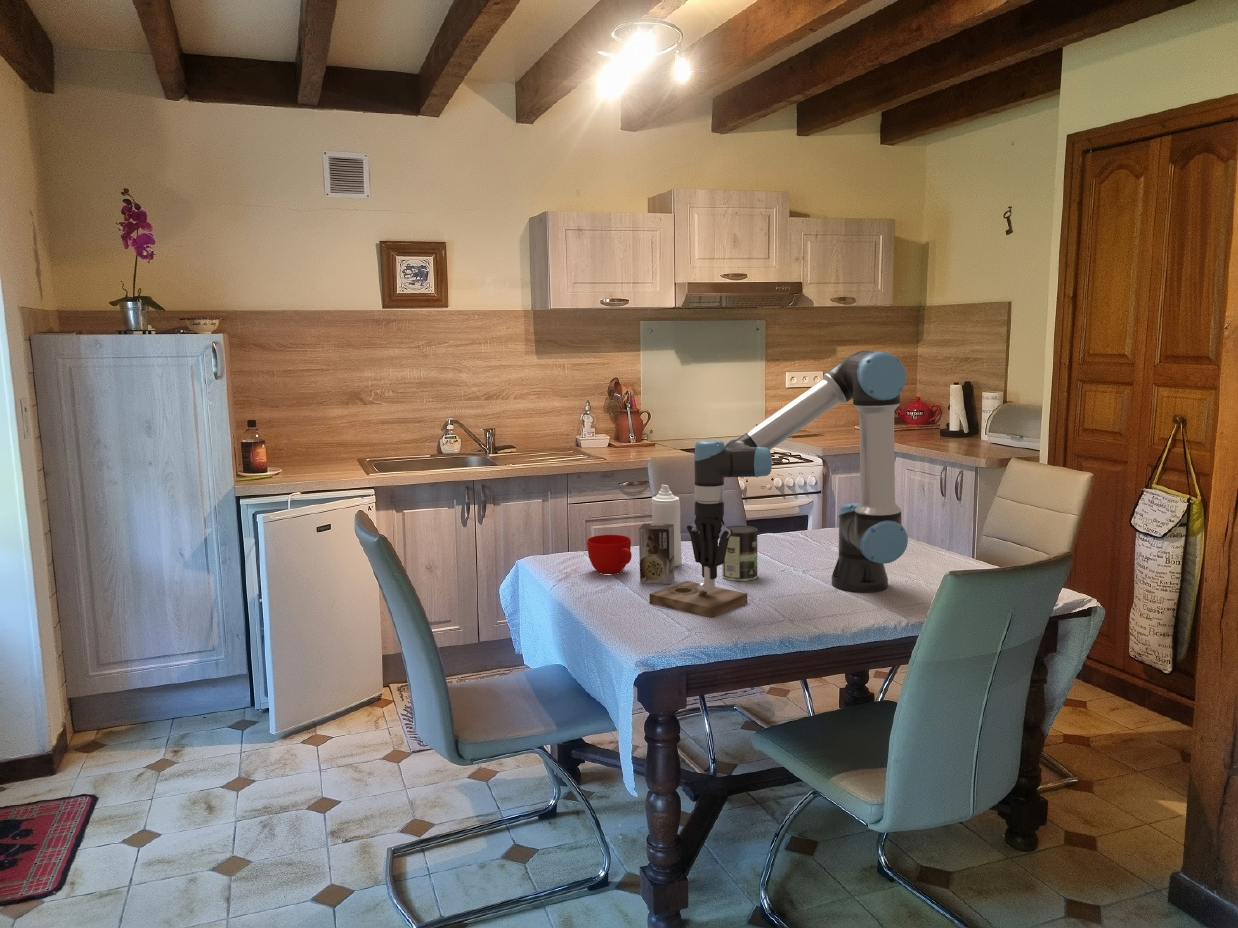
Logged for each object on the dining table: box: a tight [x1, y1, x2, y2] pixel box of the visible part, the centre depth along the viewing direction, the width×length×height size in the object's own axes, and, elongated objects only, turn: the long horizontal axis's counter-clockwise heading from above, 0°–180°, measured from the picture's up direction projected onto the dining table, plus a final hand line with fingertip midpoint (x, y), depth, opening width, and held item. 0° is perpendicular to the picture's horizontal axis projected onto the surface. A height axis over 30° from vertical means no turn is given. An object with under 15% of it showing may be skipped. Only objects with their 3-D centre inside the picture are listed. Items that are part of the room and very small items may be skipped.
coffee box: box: [638, 522, 676, 585], centre depth 267 cm, size 9×6×16 cm
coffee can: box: [721, 525, 759, 582], centre depth 270 cm, size 10×10×14 cm
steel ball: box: [697, 582, 708, 595], centre depth 245 cm, size 3×3×3 cm
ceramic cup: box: [586, 534, 633, 575], centre depth 276 cm, size 13×17×10 cm
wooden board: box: [649, 580, 748, 618], centre depth 246 cm, size 20×16×2 cm
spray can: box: [650, 484, 683, 567], centre depth 284 cm, size 12×11×25 cm
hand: (709, 590), depth 243 cm, fingers closed
